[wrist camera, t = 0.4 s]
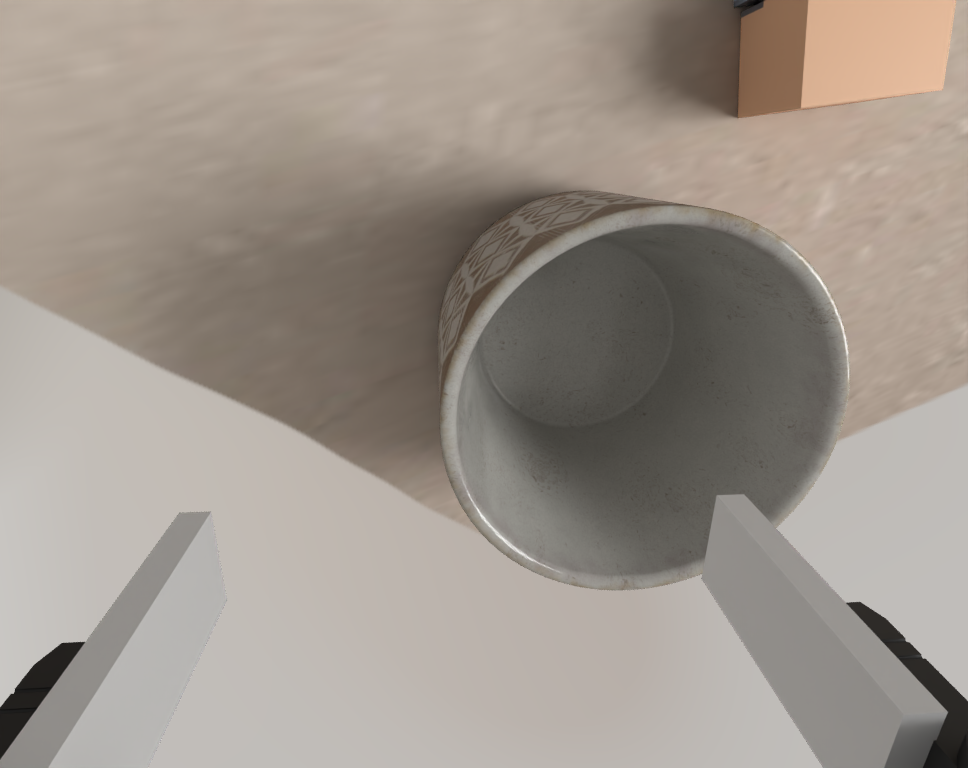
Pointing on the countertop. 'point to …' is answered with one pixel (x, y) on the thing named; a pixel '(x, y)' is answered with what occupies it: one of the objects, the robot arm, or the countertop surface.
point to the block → (840, 52)
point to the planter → (632, 383)
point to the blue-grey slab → (746, 2)
